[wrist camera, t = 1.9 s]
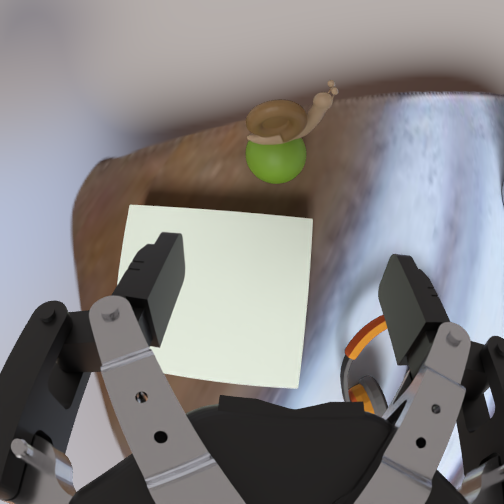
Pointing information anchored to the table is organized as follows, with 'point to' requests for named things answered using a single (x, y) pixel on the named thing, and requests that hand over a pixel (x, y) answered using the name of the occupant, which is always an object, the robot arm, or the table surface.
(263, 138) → the snail figurine
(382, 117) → the table surface
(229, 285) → the sage board
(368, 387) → the headphones
